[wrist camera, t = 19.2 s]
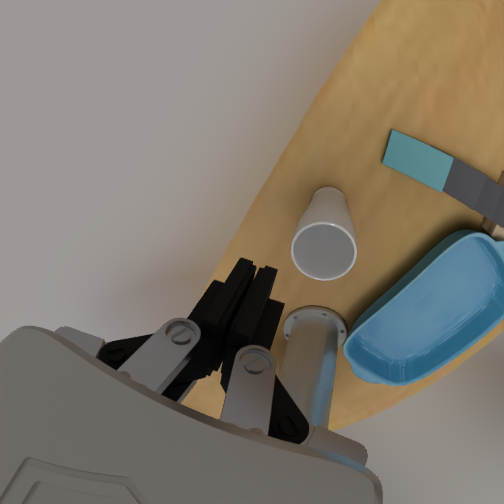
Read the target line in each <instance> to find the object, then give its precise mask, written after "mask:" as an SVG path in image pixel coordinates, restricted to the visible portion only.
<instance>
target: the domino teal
mask: <svg viewBox="0 0 504 504" xmlns="http://www.w3.org/2000/svg"><path fill="white" fill-rule="evenodd" d="M453 159H454V158H453V157H451V156H449V155H447V154H445V153H443V152H441V151H439V150H437V149H435V148H433V147H431V146H429V145H427V144H424V143H422V142H420V141H418V140H416V139H413V138H411V137H409V136H406V135H404V134H402V133H399V132H397V131H394V130H392V133H391V136H390V140H389V143H388V146H387V150H386V153H385V156H384V159H383V163H382V164H384V165H386V166H388V167H391V168H393V169H395V170H397V171H399V172H402V173H404V174H406V175H408V176H410V177H412V178H414V179H416V180H418V181H420V182H422V183H424V184H426V185H428V186H430V187H432V188H433V189H435V190H437V191H439V192H442V190H443V187H444V184H445V182H446V179H447V176H448V173H449V171H450V168H451V165H452V162H453Z"/></svg>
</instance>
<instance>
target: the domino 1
mask: <svg viewBox="0 0 504 504" xmlns="http://www.w3.org/2000/svg"><path fill="white" fill-rule="evenodd" d="M430 146H431V145H430ZM431 147H433V146H431ZM433 148H435V147H433ZM435 149H437V148H435ZM437 150H439V149H437ZM439 151H441V150H439ZM441 152H443V151H441ZM443 153H445V152H443ZM445 154H447V153H445ZM447 155H449V154H447ZM449 156H451V155H449ZM451 157H453V156H451ZM453 158H454V159H453V162H452V165H451V168H450V171H449V173H448V176H447V179H446V182H445V184H444V187H443V190H442V191H444V192H446V193H447V194H449V195H451V196H452V197H454V198H456V199H457V200H459V201H460V202H462V203H464V204H465V205H467V206H468V207H470V208H471V209H473V210H474V208H475V205H476V203H477V200H478V198H479V195H480V193H481V190H482V188H483V185H484V182H485V179H486V175H484V174H483V173H481V172H479V171H478V170H476V169H474V168H473V167H471V166H469V165H467V164H466V163H464V162H462V161H460V160H458V159H456V158H455V157H453Z"/></svg>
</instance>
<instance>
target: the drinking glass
mask: <svg viewBox="0 0 504 504" xmlns="http://www.w3.org/2000/svg"><path fill="white" fill-rule="evenodd" d="M291 256H292V259H293V262H294V264H295V265H296V267H297V268H298V269H299V270H300V271H301V272H302V273H303V274H305V275H306V276H308V277H310V278H313V279H316V280H323V281H328V280H334V279H337V278H340V277H342V276H343V275H345V274H346V273H347V272H348V271H349V270H350V269H351V268H352V267H353V265H354V263H355V261H356V257H357V237H356V231H355V227H354V223H353V220H352V217H351V214H350V212H349V209H348V206H347V201H346V198H345V196H344V194H343V193H342V192H341V191H340V190H338V189H336V188H334V187H323V188H320V189H318V190H317V191H316V192H315V193H314V194H313V196H312V198H311V201H310V203H309V205H308V206H307V208H306V210H305V211H304V213H303V215H302V216H301V218H300V220H299V222H298V224H297V227H296V229H295V232H294V236H293V240H292V244H291Z"/></svg>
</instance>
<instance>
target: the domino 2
mask: <svg viewBox="0 0 504 504" xmlns="http://www.w3.org/2000/svg"><path fill="white" fill-rule="evenodd" d="M503 190H504V188H503V187H502V186H500V185H499V184H497V183H496V182H494V181H493V180H491V179H490V178H488V177H486V179H485V182H484V185H483V188H482V190H481V193H480V195H479V198H478V200H477V203H476V205H475V208H474V209H475V210H476V211H477V212H479V213H480V214H482V215H483V216H485V217H486V218H487V219H489V220H490V221H491V219H492V217H493V215H494V212H495V210H496V208H497V205H498V203H499V200H500V198H501V195H502V192H503Z"/></svg>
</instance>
